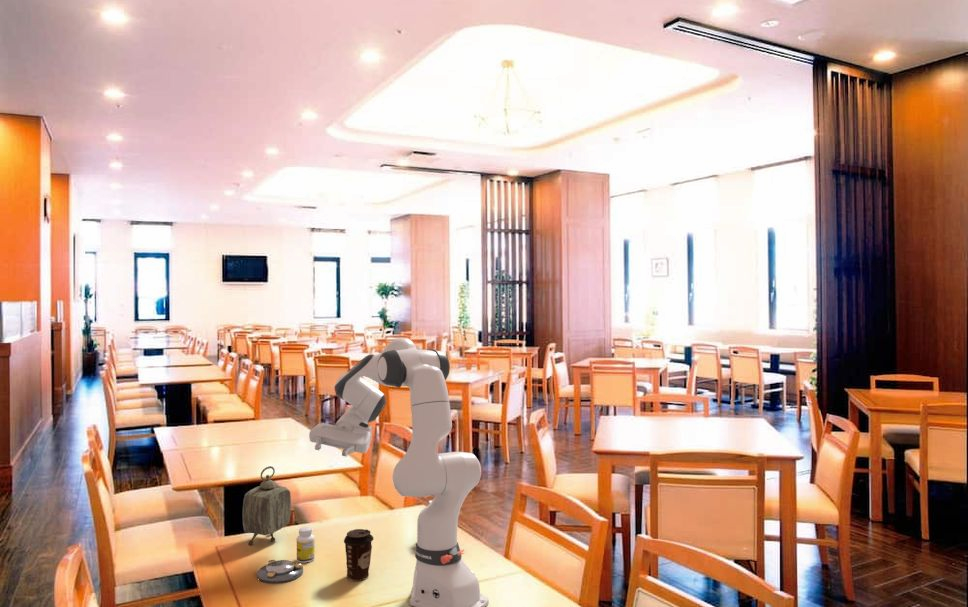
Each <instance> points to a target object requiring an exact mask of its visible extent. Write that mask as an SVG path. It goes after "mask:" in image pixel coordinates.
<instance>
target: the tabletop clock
mask: <svg viewBox="0 0 968 607" xmlns="http://www.w3.org/2000/svg"><path fill="white" fill-rule="evenodd" d="M269 469H272V473H271V475H269V474H267V475H266V477H263V474H264V472H265V471H266V470H269ZM275 472H276V471H275V467H274V466H266V467H264V468H263V469H262V471H261V473H260V479H261V480H262V481H261V482H260V484H259V486H256V487H254V488H252V489H250V490H249V491H247V492H246V493H245V494H244V498H243V502H242V516H241V517H242V526H243V531H244V533H249V534H253V536H252V538H251V539H250V540H248V542H247V544H248V546H252V545H253V544H254V540H255V538H256V537H257V536H258V535H262V536H268V535H270V539H269V541H270V542H271V543H274V542H276V537H274V534H275V533H276V532H277V531H279V530H282V529H283V528H285V527H287V526H288V525H289V523H290V520H291V514H292V512H291V509H292V502H291V497H292V496H291V492H290V490H289V488H288V487H286V486H281V485H276V483H275V481H273V480H271V478H273V477H274V475H275Z"/></svg>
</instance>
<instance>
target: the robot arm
mask: <svg viewBox="0 0 968 607" xmlns="http://www.w3.org/2000/svg"><path fill="white" fill-rule="evenodd" d="M450 371H451V367H450V360H449V358H448V356H447V355H446V353H445V352H443V351H441V350H436V349H418V348H417V346H416V344H415V343H414V342H413V341H412V340H411V339H409V338H407V337H398V338H395V339H393V340H391V342H389V343H388V344H387V345H386V346H385V347H384V348H383V350H382V351H381V353H379V354H367V355H366V356H364V357H363V358H362V359H361V360H359V362H357V363H356V364H355V365H354V366H353V367H352V368H350V369H349V370H348V371H346V372H344V373H343V374H341V376H339V377H338V378H337V380H336V382H335V384H334V393H335V396H336V397H338V398H340V399H341V400H344V402H346V403H348V404H349V407H348V408H347V409H346V410H345V413H343V414H342V415H341V416H340V417H339V419H338V420H337V421H336V422H335V424H330V423H325V422H321V423H317V425H314V427H313V428H312V429H311V430H310V431H309V434H308V435H309V436H308V438H309V441H310V442H311V443H315V445H314V451H320V450H321V449H322V445H323V446H329V447H332V448H338V449H341V450H342V451H341V456H342V457H346V458H347V457H348V455H351V454H353V453H359V454H366V453H367V452H368V450H369V449H370V446H371V443H372V437H373V430H372V426H371V425H369V423H371V422H374V421H375V420H377V419H378V418H379V415H380V414H381V412H383V410H384V408H385V407H386V403H387V400H386V399H387V398H386V394H385V393H383V392H382V391H381V390H380V389H378V388H377V387H375V386H374V385H372V384H371V383H369V382H368V381H367V380H366V379H364V378H363V377H366V378H368V379H370V380H372V381H373V382H376V383H378V384H379V385H382V386H385V387H395V388H398V389H400V388H402V387H405V386H406V387H408V389H409V396H410V410H411V422H412V423H411V427H412V432H411V433H412V435H411V441H410V443H409V445H408V446H409V447H408V449H406V450H407V451H406V453H405V454H404V456H402V457H401V459H400V460H398V462H397V463H396V464H395V466H394V468H393V471H392V483H393V486H394V489H395V490H396V492H397V493H398V494H399V495H400V496H401V497H406V498H407V497H408V498H424V497H430V496H434V497H433V499H431V500H432V502H431V503H430V504H429V503H428V504H427V506H425V507H424V508H423V509H422V510H421V511H420V512H419V514H418V516H417V529H416V530H417V531H416V532H417V534H416V535H417V536H416V543H415V549H414V554H415V555H414V556H415V559H416V562H415V568H414V572H413V581H412V588H411V590H410V598H409V605H410V606H412V607H485V606H486V605H487V606H488V604H489V598H488V597H487V596H486V595H484V594H482V593H481V589H480V581H479V578H478V577H477V576H476V574H475V572H474V571H473V570H472V571H471V568H469V566H468V565H467V564H466V563H465V562H464V560H463V559H462V555H464V554H465V549H461V548H460V546H459V542H458V522H459V515H460V511H461V508H462V505H463V504H464V502H465V500H466V499H467V496H468V494H469V493H470V492H471V491H472V490H473V489H474V488H475V487H476V486H477V485H478V484H479V482H480V481H481V480H480V479H481V477H482V464H481V462H480V461H479V459H478V458H477V456H476V455H475V454H474V453H472V452H466V451H452V452H451V451H449V452H440V453H437V451H438V450H437V449H438V445H439V443H440V442H441V441H442V440H443V439H445V438H446V437H447V436H449V435H450V433H451V431H452V428H453V422H452V412H451V403H450V396H449V391H448V386H447V382H446V380H448V377H449V374H450ZM487 606H486V607H487Z"/></svg>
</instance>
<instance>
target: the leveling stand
mask: <svg viewBox="0 0 968 607" xmlns="http://www.w3.org/2000/svg"><path fill="white" fill-rule="evenodd" d="M303 574H304V566H303V563H300V562H295V561H293V560H289V559H287V560H286V559H280V560H275V559H269V560H267V564H265V565H263V566H261V567H260V568H259V569H258V570H257V572H256V577H257V580H258V579H259V580H258V581H260V582H262V583H265V582H266V583H265V584H283V583H284V582H285V583H288V582H292V581H294V580H297V579H299V578H300V577H301V576H303ZM285 583H284V584H285Z"/></svg>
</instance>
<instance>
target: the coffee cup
mask: <svg viewBox="0 0 968 607" xmlns="http://www.w3.org/2000/svg"><path fill="white" fill-rule="evenodd" d="M373 540H374V536H373V535H372V534H371V530H369V529H367V528H366V529H363V528H355V529H352V530H350V531H348V532H346V536H345V537H344V539H343V543H344V544H345V545H344V546H345V547H344V548H345V556H346V579H348V580H350V581H352V580H353V582H354V581H355V582H358V581H363V580H365V579H367V578H369V576H370V575H369V571H370V566H371V559H372V558H371V557H372V548H373V546H372V542H373Z"/></svg>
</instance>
